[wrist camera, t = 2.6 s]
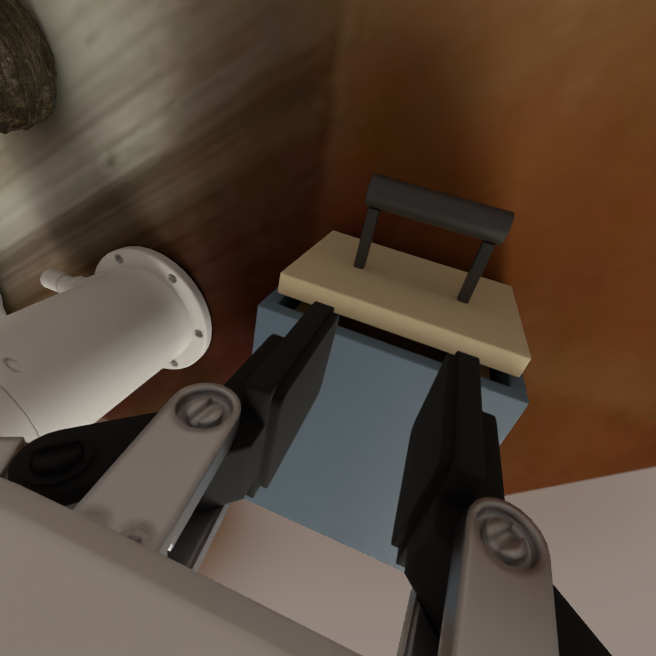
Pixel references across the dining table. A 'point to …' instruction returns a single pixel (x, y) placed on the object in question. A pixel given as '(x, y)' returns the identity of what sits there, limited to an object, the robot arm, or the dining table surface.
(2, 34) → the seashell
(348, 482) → the cabinet
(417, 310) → the drawer
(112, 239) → the dining table surface
